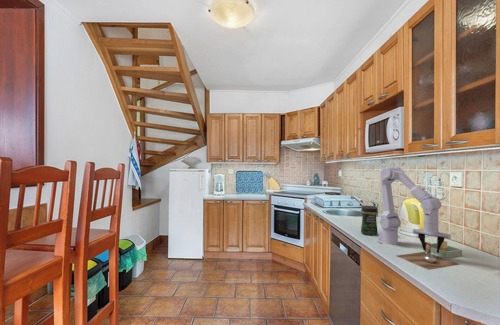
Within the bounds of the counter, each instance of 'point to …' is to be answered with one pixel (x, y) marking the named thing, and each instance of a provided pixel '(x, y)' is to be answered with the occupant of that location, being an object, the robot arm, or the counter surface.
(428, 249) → the crank
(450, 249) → the tray
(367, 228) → the coffee jar
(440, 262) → the crank base
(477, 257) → the counter surface
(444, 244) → the pin
